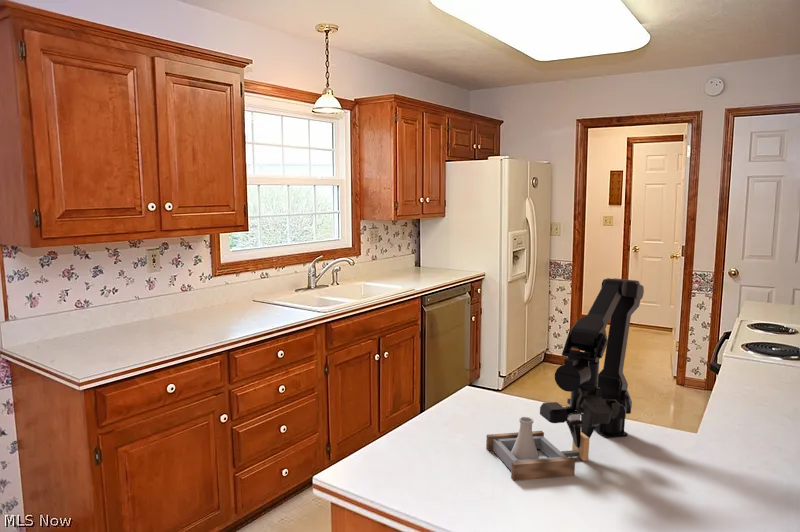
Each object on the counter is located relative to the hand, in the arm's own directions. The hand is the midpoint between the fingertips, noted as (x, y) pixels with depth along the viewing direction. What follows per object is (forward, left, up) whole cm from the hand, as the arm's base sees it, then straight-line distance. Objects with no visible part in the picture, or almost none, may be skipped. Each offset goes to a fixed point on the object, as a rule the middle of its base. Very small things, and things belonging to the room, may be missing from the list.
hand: (580, 446), depth 133 cm
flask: (+14, 0, -3) cm, 14 cm away
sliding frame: (+9, 0, -2) cm, 9 cm away
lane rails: (+13, 0, -3) cm, 13 cm away
